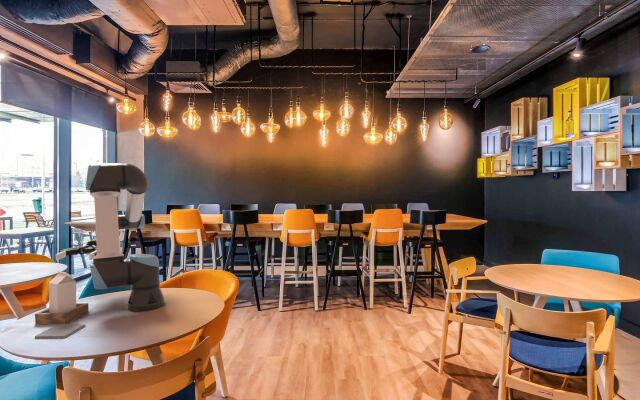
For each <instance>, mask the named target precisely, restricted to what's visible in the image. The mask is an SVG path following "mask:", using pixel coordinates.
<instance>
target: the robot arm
mask: <svg viewBox="0 0 640 400" xmlns="http://www.w3.org/2000/svg"><path fill="white" fill-rule="evenodd" d="M86 172H87V174H86V181H85V183H86V184H85V190H86V191H89V195H90V196H91V197H92V198H93V199H94V200H93V201H94V215H95V216H94V219H95V237H96V238H94V239H92V240H89V241H88V242H87V243H86V244H85V245H83V246H79V245H78V246H74V247H69V248H66V249H60V250H58V252H57V253H55V261H60V260H62V259H65V258H66V257H68V256H74V255H88V257H89V258H88V259H89V261H90V260H92V262H90V263H88V264H89V268H90V269H89V270H90V274H91V279H92V284H93V288H94V289H96V290H108V289H114V288H119V287H121V288H122V287H127V286H130V290H131V291H130V294H129V298H128V301H127V310H128V311H129V312H130V311H131V312H145V311H146V312H147V311H151V310H155V309H158V308H160V307H163V306H164V305H165V301H166V299H165V297H164V294H163V292H162V290H161V289H162V288H161V284H160V281H161V280H160V261H159V260H160V259H159V258H158V256H156V255H155V254H149V253H134V254H133V253H132V254H130V255H129V258H125V254H123V253H122V252H121V251H120V250H121V248H120V231H121V230H131V229H133V230H136V229H143V228H145V226H146V218H145V214H143V206H144V201H145V200H144V199H145V195H146V194H145V193H146V192H147V191H148V189H149V180H148V177H147V175H146V174H145V172H144V171H143V170H142V169H141V168H139V167H138V166H136V165H134V164H131V163H125V162H123V163H119V162H117V163H111V162H99V163H98V162H97V163H95V162H94V163H90V164H89V165H88V166H87V171H86ZM121 190H126V201H125V202H126V203H125V204H126V205H125V213H124V214H119V212H118V197H119V196H120V195H121V194H122V193H121ZM119 230H120V231H119Z"/></svg>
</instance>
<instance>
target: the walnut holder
mask: <svg viewBox="0 0 640 400" xmlns="http://www.w3.org/2000/svg"><path fill="white" fill-rule="evenodd" d="M88 313H90V311H89V303H88V302H86V303H85V302H84V303H83V302H76V308H75V309H73V310H71V311H69V312H67V313H49V307H48V308H46V309H44V310H41V311H39V312H36V313H34V318H35V319H34V321H35V325H65V324H70V323H72V322H74V321H75V320H77V319H80V318H81V317H83V316H85V315H87V314H88Z"/></svg>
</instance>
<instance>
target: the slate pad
mask: <svg viewBox="0 0 640 400" xmlns="http://www.w3.org/2000/svg"><path fill="white" fill-rule="evenodd" d="M85 326H86V324H85V323H84V324H83V323H79V324H78V323H77V324H76V323H75V324H73V323H72V324H70V323H68V324H54V325H53V326H52V327H50V328H48V329H46V330H44V331H42V332H41V333H38V334H36V335H34V339H65V338H67V337H69V336H71V335H73V334H74V333H77V332H78V331H79V330H82V329H83V328H85Z"/></svg>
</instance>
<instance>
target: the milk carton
mask: <svg viewBox="0 0 640 400" xmlns="http://www.w3.org/2000/svg"><path fill="white" fill-rule="evenodd" d="M72 276H73V275H71V274H69V273H68V272H63V271H61V270H60V271H58V273H57V274H56V276H55V277H53V278H52V279H51V280H50V281H49V282H48V301H49V302H48V305H49V306H48V308H49V313H67V312H69V311H71V310H73V309H75V308H76V303H77V280H76V279H73V277H72Z"/></svg>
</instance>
